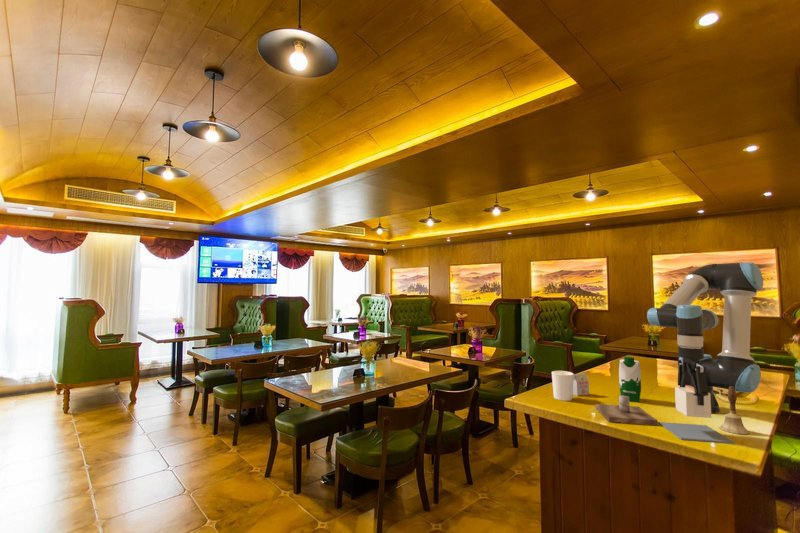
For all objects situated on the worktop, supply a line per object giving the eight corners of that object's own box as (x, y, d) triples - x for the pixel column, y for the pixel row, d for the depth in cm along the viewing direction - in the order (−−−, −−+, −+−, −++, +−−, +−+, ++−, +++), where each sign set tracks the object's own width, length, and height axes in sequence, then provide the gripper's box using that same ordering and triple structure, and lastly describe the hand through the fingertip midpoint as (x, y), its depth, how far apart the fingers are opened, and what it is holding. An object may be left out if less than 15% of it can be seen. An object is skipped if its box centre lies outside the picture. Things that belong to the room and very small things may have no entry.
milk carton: (619, 400, 175) (618, 357, 177) (620, 395, 183) (618, 354, 184) (641, 403, 171) (640, 359, 172) (641, 398, 178) (640, 356, 180)
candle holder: (576, 402, 172) (576, 375, 173) (554, 400, 174) (553, 374, 175) (571, 396, 182) (570, 371, 183) (550, 394, 184) (549, 370, 185)
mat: (706, 426, 142) (706, 425, 142) (734, 443, 126) (734, 441, 126) (659, 423, 145) (658, 421, 145) (680, 439, 129) (680, 437, 129)
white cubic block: (675, 409, 140) (674, 384, 141) (698, 411, 139) (697, 385, 140) (686, 416, 133) (685, 389, 134) (711, 417, 132) (710, 390, 132)
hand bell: (713, 426, 142) (711, 384, 143) (733, 426, 143) (731, 383, 144) (734, 435, 134) (732, 389, 135) (755, 434, 134) (753, 389, 135)
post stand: (638, 411, 160) (638, 392, 160) (657, 425, 143) (656, 404, 143) (595, 408, 163) (595, 389, 163) (609, 422, 146) (608, 401, 147)
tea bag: (572, 394, 186) (571, 373, 187) (583, 393, 188) (583, 372, 188) (577, 396, 182) (576, 375, 183) (589, 395, 184) (588, 374, 185)
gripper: (719, 351, 127) (722, 420, 125) (686, 343, 147) (689, 403, 145) (694, 350, 128) (697, 419, 127) (665, 342, 148) (667, 401, 147)
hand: (692, 410), depth 136 cm, fingers closed on white cubic block, 8 cm apart
